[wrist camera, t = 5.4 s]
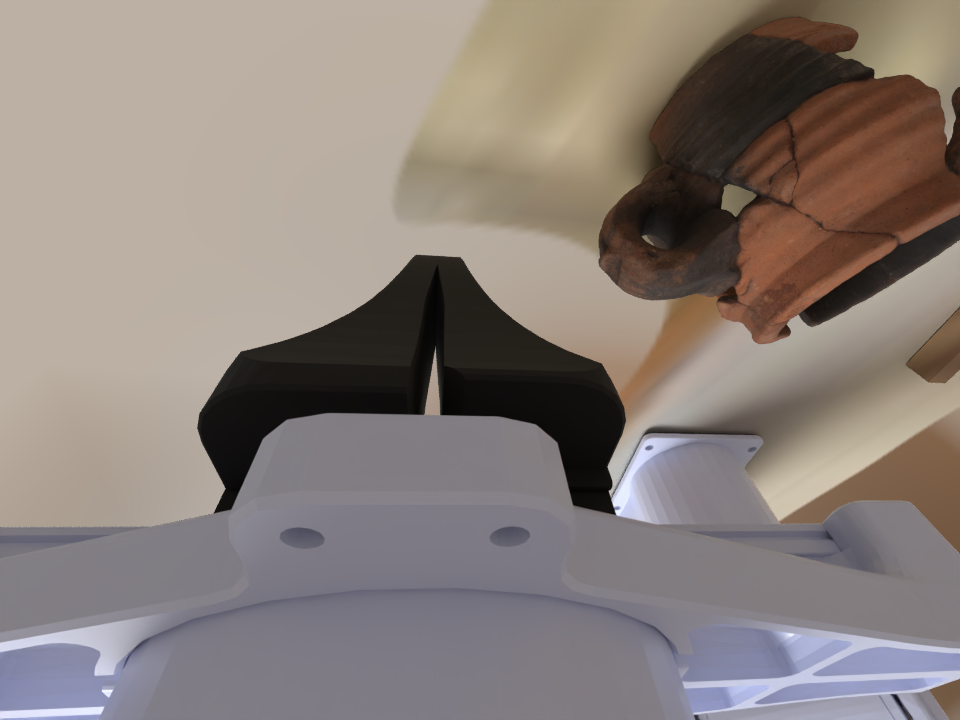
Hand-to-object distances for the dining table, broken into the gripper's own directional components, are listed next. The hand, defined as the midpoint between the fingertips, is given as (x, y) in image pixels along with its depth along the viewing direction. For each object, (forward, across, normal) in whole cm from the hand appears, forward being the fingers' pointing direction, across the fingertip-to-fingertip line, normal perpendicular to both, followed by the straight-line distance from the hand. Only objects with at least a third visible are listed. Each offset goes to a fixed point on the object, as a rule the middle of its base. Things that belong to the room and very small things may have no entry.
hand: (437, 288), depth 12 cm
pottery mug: (+7, -11, -2) cm, 13 cm away
